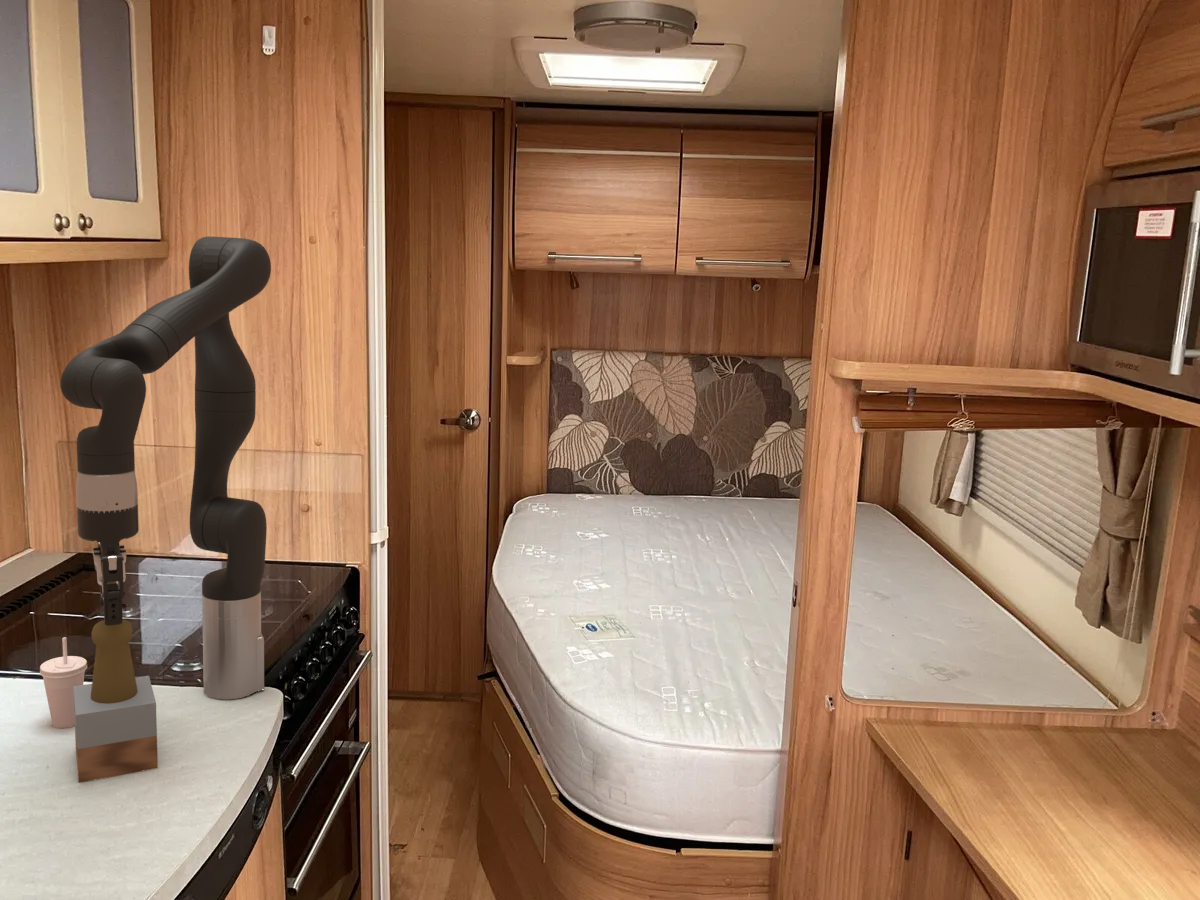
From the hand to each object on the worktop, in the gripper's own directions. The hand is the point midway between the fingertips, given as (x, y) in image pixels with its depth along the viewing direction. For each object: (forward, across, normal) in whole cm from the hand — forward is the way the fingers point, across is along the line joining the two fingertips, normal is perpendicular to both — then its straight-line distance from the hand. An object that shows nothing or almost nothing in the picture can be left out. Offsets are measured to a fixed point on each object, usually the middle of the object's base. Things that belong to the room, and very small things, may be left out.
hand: (111, 614), depth 137 cm
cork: (+12, 0, 0) cm, 12 cm away
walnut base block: (+22, 0, 0) cm, 22 cm away
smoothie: (+22, +15, +6) cm, 28 cm away
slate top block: (+17, 0, 0) cm, 17 cm away
